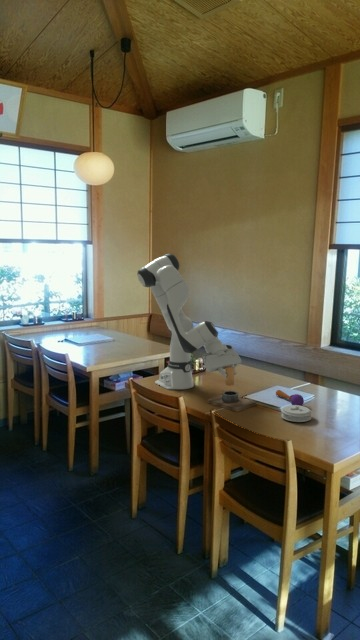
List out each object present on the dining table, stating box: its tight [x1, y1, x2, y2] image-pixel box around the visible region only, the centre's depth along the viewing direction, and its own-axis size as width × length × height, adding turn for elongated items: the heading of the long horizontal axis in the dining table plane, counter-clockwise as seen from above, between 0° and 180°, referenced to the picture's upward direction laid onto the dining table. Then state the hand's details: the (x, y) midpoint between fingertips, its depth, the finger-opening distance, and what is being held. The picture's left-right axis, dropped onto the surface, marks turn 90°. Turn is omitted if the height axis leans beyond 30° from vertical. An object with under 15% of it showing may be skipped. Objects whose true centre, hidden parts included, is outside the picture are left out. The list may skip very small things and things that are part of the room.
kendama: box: [275, 389, 305, 406], centre depth 221 cm, size 6×6×20 cm
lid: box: [280, 404, 312, 423], centre depth 199 cm, size 13×13×5 cm
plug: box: [225, 367, 235, 386], centre depth 218 cm, size 4×4×8 cm
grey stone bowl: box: [221, 390, 240, 403], centre depth 219 cm, size 8×8×4 cm
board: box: [207, 395, 257, 413], centre depth 219 cm, size 18×14×2 cm
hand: (230, 375), depth 217 cm, fingers closed on plug, 4 cm apart
